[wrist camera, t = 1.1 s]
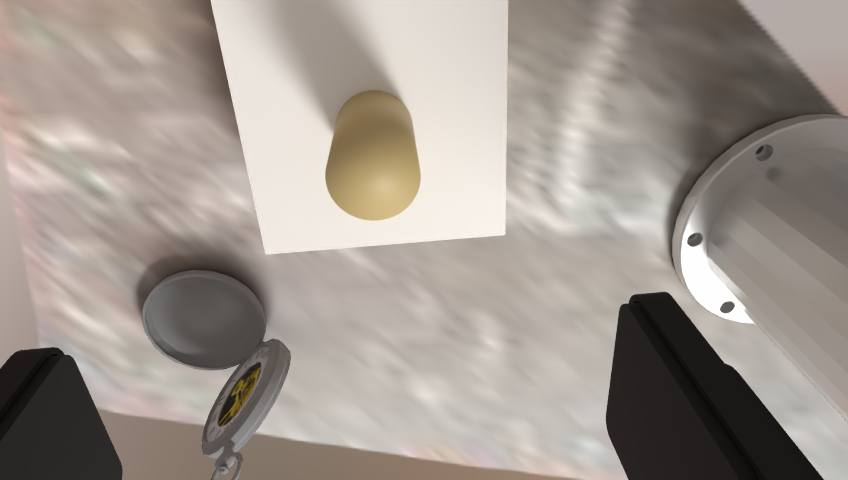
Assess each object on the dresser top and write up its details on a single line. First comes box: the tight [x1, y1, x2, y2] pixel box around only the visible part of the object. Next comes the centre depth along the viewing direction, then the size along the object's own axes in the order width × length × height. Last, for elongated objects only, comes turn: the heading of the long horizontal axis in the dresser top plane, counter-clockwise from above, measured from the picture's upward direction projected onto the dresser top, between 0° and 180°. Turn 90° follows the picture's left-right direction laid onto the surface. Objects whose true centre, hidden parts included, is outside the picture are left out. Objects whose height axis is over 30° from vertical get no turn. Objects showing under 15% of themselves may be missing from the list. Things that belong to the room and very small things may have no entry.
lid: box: [211, 0, 508, 254], centre depth 21 cm, size 10×10×6 cm
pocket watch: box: [142, 270, 291, 480], centre depth 29 cm, size 8×8×10 cm
